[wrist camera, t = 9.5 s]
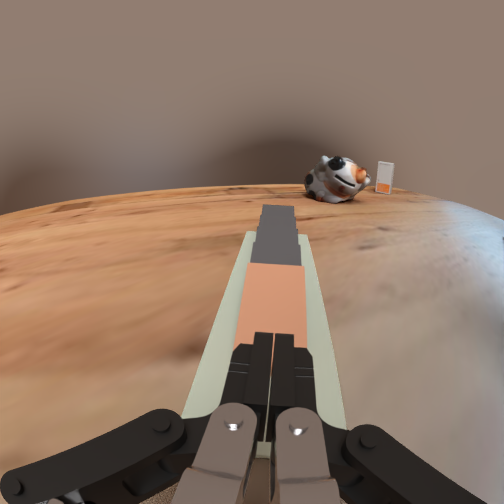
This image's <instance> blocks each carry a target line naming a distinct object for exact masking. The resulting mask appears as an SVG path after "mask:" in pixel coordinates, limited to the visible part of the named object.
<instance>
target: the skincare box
mask: <svg viewBox="0 0 504 504" xmlns="http://www.w3.org/2000/svg"><path fill="white" fill-rule="evenodd" d="M394 165H395V164H393V163H387V162H380V161H379V162H378V173H377V181H376V189H375V192H379V193H384V194H388V195H390V194H391V190H392V182H393V173H394Z"/></svg>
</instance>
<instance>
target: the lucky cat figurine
mask: <svg viewBox="0 0 504 504" xmlns="http://www.w3.org/2000/svg"><path fill="white" fill-rule="evenodd" d="M370 181H371V177H369V175H368V174H367V172H366V168H363V167H358V166H357V165H356V163H354V162H353V161H352V160H350V159H348V158H341V157H340V156H335V157H334V158H330V159H329V158H328V157H326V156H322V157H321V158H320V161H319V163H318V164H317V165H316V166H315V169H313V170H311V171H309V172H308V173H307V175H306V177H305V180H304V186H305V189H306V191H307V193H308V194H309V195H313V197H314V199H315V200H317V201H321V202H327V203H334V204H336V203H338V202H340V201H345V200H348V199H353V198H354V196H355V195H356V194H357V193H359V192H360V191H362V190H363V189H364V188H365V187H366V186H367V185H368V184H369V183H370Z"/></svg>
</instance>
